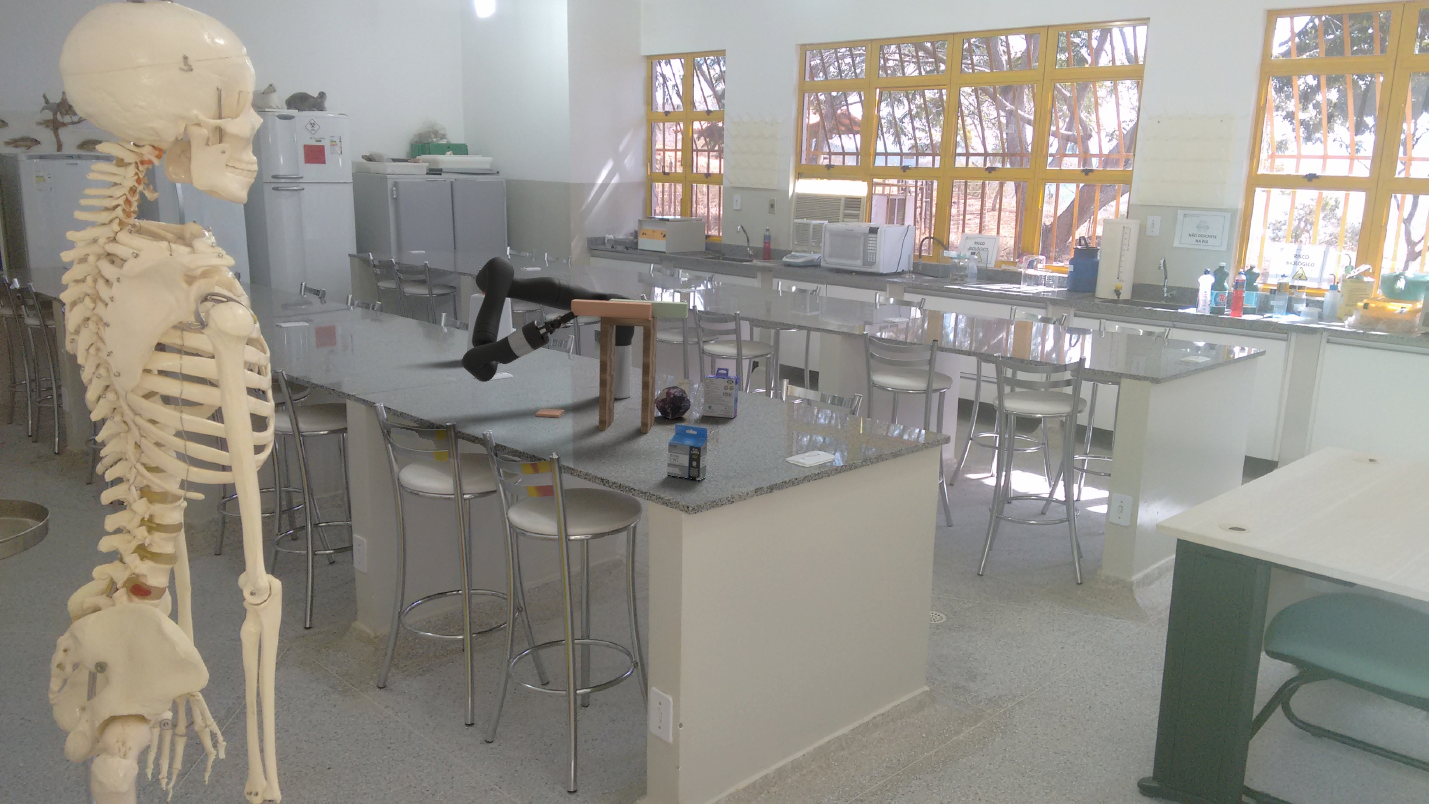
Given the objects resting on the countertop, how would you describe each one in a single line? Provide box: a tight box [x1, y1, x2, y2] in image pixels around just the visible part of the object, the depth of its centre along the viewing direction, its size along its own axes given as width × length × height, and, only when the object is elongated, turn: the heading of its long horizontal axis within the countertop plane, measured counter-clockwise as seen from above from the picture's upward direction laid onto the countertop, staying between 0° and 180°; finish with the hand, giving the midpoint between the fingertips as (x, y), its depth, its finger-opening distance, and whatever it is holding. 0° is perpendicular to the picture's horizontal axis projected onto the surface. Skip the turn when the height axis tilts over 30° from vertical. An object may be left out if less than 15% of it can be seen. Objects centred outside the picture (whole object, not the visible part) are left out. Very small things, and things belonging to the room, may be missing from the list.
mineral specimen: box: [655, 385, 692, 420], centre depth 311 cm, size 10×10×10 cm
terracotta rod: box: [571, 299, 652, 319], centre depth 288 cm, size 4×22×4 cm, turn 85°
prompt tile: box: [535, 408, 565, 418], centre depth 309 cm, size 7×7×1 cm
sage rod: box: [609, 299, 689, 319], centre depth 293 cm, size 4×22×4 cm, turn 85°
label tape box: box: [666, 423, 709, 481], centre depth 248 cm, size 9×4×12 cm, turn 66°
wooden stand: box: [598, 317, 658, 434], centre depth 294 cm, size 12×14×32 cm
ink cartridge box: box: [702, 367, 739, 419], centre depth 315 cm, size 10×6×14 cm, turn 78°
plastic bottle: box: [466, 291, 514, 364], centre depth 394 cm, size 15×15×28 cm
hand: (577, 312), depth 289 cm, fingers open, 8 cm apart
